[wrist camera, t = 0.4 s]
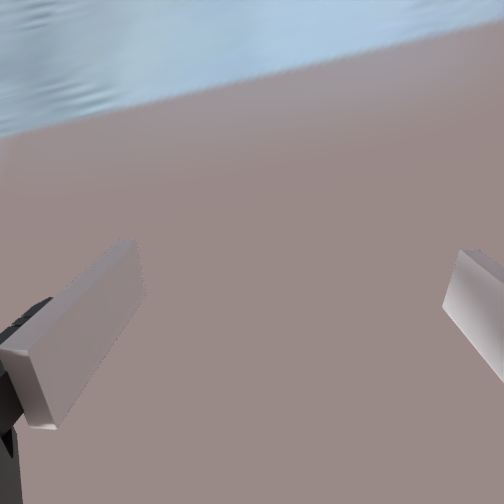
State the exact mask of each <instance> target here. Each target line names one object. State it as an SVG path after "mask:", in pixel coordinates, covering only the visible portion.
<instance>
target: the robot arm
mask: <svg viewBox="0 0 504 504" xmlns="http://www.w3.org/2000/svg"><path fill="white" fill-rule="evenodd" d="M145 296H146V293H145V287H144V280H143V274H142V268H141V262H140V255H139V250H138V243H137V240H118V241H117V242H116V243H115V244H114V245H113V246H111V247H110V248H109V249H108V250H107V251H106V252H105V253H104V254H102V255H101V256H100V257H99V258H98V259H97V260H96V261H95V262H94V263H92V264H91V265H90V266H89V267H88V268H87V269H86V270H84V271H83V272H82V273H81V274H80V275H79V276H78V277H76V278H75V279H74V280H73V281H72V282H71V283H70V284H69V285H67V286H66V287H65V288H64V289H63V290H62V291H61V292H60V293H58V294H57V295H56V296H55V297H49V298H47V299H45V300H44V301H42V302H40V303H38V304H36V305H34V306H33V307H31V308H30V309H29V310H28V311H27V312H26V313H24V314H23V315H22V316H21V318H18V319H17V320H16V321H15V322H14V323H12V325H11V327H8V328H7V329H5V330H4V331H3V332H2V333H1V334H0V504H23V501H22V490H21V479H20V467H19V454H18V442H17V433H16V431H15V429H14V427H13V425H14V423H15V422H16V421H17V420H18V419H19V417H20V416H21V415H22V414H23V413H24V415H25V418H26V420H27V422H28V425H29V427H30V428H42V429H56V430H57V429H58V427H59V425H60V424H61V422H62V421H63V420H64V418H65V417H66V415H67V414H68V412H69V411H70V409H71V408H72V406H73V405H74V403H75V401H76V400H77V398H78V397H79V396H80V394H81V392H82V391H83V390H84V388H85V387H86V385H87V384H88V382H89V380H90V379H91V377H92V376H93V375H94V373H95V372H96V370H97V369H98V367H99V365H100V364H101V363H102V361H103V360H104V358H105V357H106V355H107V354H108V352H109V351H110V349H111V347H112V346H113V344H114V343H115V341H116V340H117V338H118V337H119V335H120V334H121V332H122V331H123V329H124V328H125V326H126V325H127V323H128V322H129V320H130V319H131V317H132V316H133V314H134V313H135V311H136V310H137V308H138V307H139V305H140V304H141V302H142V301H143V299H144V298H145ZM442 308H443V309H444V310H445V311H446V313H447V314H448V315H449V316H450V317H451V319H452V320H453V321H454V322H455V324H456V325H457V326H458V327H459V329H460V330H461V331H462V332H463V333H464V335H465V336H466V337H467V338H468V339H469V341H470V342H471V343H472V344H473V345H474V347H475V348H476V349H477V351H478V352H479V353H480V354H481V356H482V357H483V358H484V359H485V361H486V362H487V363H488V364H489V365H490V367H491V368H492V369H493V370H494V372H495V373H496V374H497V375H498V376H499V378H500V379H501V380H502V381H503V383H504V267H503V266H501V265H500V264H498V263H497V262H496V261H494V260H493V259H492V258H490V257H489V256H487V255H486V254H485V253H483V252H482V251H480V250H460V251H459V254H458V257H457V261H456V264H455V267H454V271H453V274H452V277H451V280H450V284H449V287H448V290H447V293H446V297H445V300H444V303H443V307H442Z"/></svg>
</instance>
